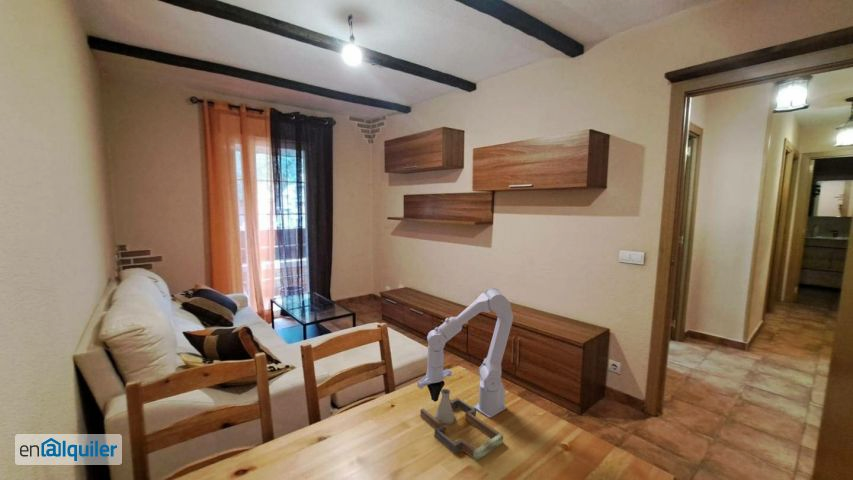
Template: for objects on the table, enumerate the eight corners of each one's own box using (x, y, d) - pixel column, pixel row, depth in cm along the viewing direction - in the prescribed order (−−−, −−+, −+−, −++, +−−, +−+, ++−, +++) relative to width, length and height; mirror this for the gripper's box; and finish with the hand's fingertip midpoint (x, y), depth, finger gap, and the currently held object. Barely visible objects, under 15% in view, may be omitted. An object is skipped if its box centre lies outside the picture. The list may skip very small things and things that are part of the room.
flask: (454, 426, 115) (454, 398, 114) (432, 423, 117) (433, 395, 115) (456, 413, 122) (457, 387, 121) (436, 410, 124) (437, 384, 122)
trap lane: (451, 400, 130) (451, 394, 129) (508, 438, 110) (508, 431, 109) (414, 419, 118) (414, 412, 118) (469, 465, 98) (469, 457, 98)
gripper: (442, 354, 129) (442, 388, 131) (412, 365, 120) (411, 402, 122) (456, 361, 124) (455, 396, 125) (424, 374, 115) (424, 411, 116)
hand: (434, 400), depth 123 cm, fingers closed
